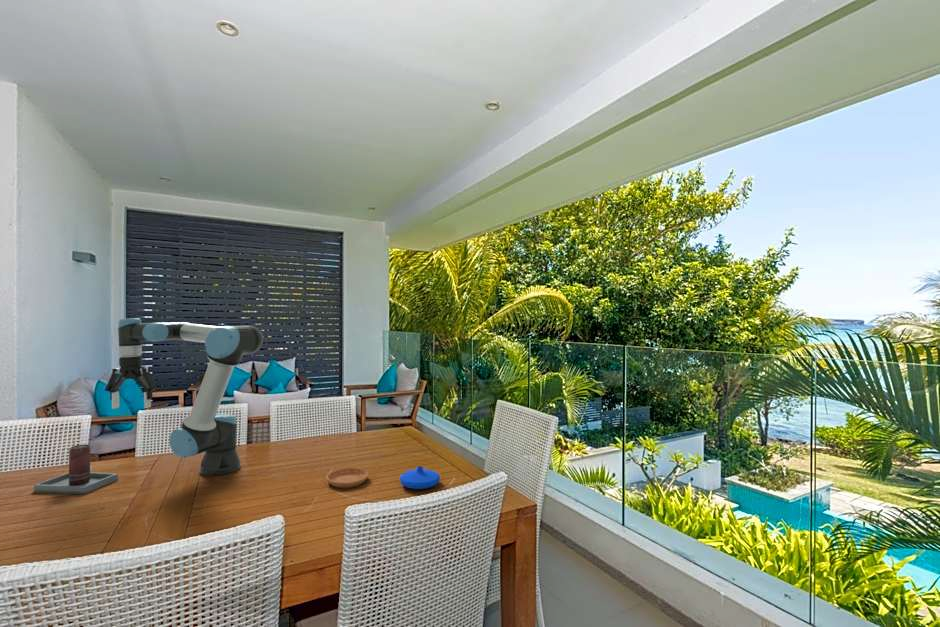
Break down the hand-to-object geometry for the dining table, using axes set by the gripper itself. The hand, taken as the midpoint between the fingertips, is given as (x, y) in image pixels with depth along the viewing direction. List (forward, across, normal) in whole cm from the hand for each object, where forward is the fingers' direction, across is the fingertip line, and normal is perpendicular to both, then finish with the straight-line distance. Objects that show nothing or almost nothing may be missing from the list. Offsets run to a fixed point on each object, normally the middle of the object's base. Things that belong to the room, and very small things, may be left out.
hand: (131, 408), depth 182 cm
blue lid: (+31, -119, +4) cm, 123 cm away
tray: (+27, +11, +13) cm, 32 cm away
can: (+26, +11, +13) cm, 31 cm away
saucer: (+30, -90, +2) cm, 95 cm away
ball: (+26, +18, +2) cm, 32 cm away
